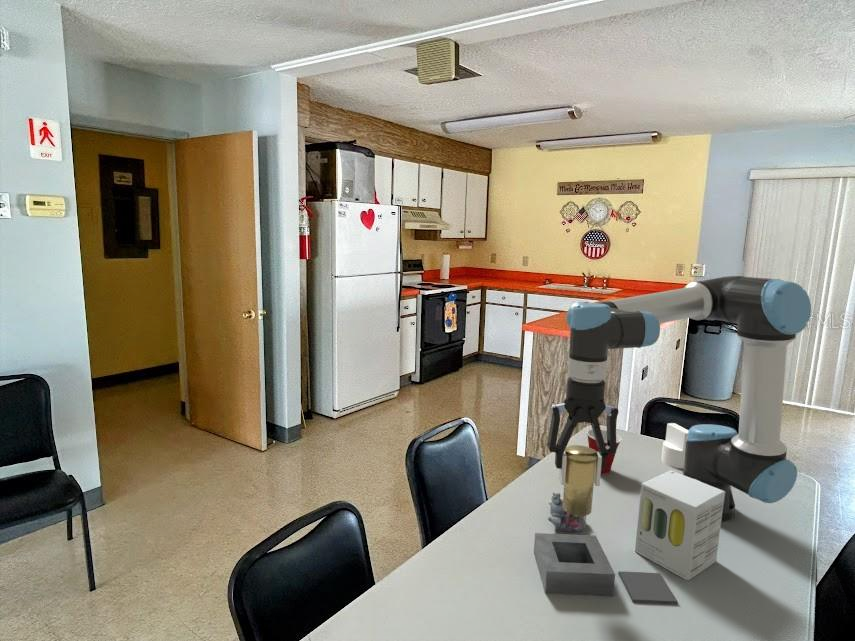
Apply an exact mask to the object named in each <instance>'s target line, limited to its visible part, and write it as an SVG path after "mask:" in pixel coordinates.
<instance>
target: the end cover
mask: <svg viewBox="0 0 855 641" xmlns="http://www.w3.org/2000/svg"><path fill="white" fill-rule="evenodd" d="M564 452H565V454H566V455H567V461H566V476H565V485H563V493H562V494H563V509H564V510H565V511H566V512H568V513H570V514H572V515H576V516H586V517H587V516H589V515H590V514H591V513H592V511H593V510H592V508H593V495H594V485H595V483H594V472H595V461H596V460H597V452H596V451H595V450H594V449H592V448H589V446H585V445H577V444H576V445H567V446H566V449H565V451H564Z"/></svg>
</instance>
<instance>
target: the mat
mask: <svg viewBox="0 0 855 641" xmlns="http://www.w3.org/2000/svg"><path fill="white" fill-rule="evenodd" d="M618 576H619V578H620V579H621V583H623V586H624V588H625V590H626V591H627V594H628V596H629V598H630V600H631V601H632V603H645V604H649V603H650V604H664V605H665V604H666V605H667V604H669V605H678V602H679V601H678V599H677V598H676V596H675V594H674V593H673V592H672V590H671V588H670V587H669V585H668V584H667V582H666V580H665V578H663V576H662V575H661V573H660V572H640V571H621V570H620V571H618Z"/></svg>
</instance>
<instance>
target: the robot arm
mask: <svg viewBox="0 0 855 641" xmlns="http://www.w3.org/2000/svg"><path fill="white" fill-rule="evenodd" d="M811 313H812V304H811V299H810V296H809V294H808V292H807V291H806V290H805V289H804V288H803V286H801V285H800V284H799V283H797V282H793V281H787V280H782V279H779V278H765V277H752V276H741V275H729V276H722V277H717V278H716V277H715V278H709V279H704V280H700V281H694V282H690V283H688V284H686V285H685V286H684V287H682V288H677V289H670V290H665V291H659V292H653V293H648V294H641V295H635V296H629V297H625V298H624V297H622V298H618V299H613V300H608V301H607V300H606V301H600V302H590V301H577V302H575V303H573V304H572V305H571V306H570V307H569V308H568V310H567V313H566V318H565V319H566V324H567V326H568V328H569V329H570V334H569V352H568V354H569V355H568V365H567V366H568V367H567V375H568V376H569V377H568V378H567V380H566V393H565V394H566V396H565V399H564V401H563V402H562V403H557V404H556V403H551V404H550V411H551V418H550V419H551V420H550V424H549V431H548V437H547V441H546V442H547V443H546V446H547V449H548V451H549V452H551V453H555V457H554V458H555V459H554V464H555V468H556V469H557V470H558V469H559V470H558V481H559V484H560V485H561V486H564V485H565V476H566V461H567V455H566V454H565V449H566V447H568V444H569V442H570V439H571V437H572V435H573V432H574V431H575V428H577V426H578V424H582V423H587V424H590V425H591V429H593V433H594V436H595V440H596V443H597V447H598V450H599V452H597V460H596V461H595V472H594V485H595V486H596V487H600V486H601V475H602V474H601V470H605V468H606V458H608V456H609V455H608V454H611V453H612V454H615V453H617V450H616V434H617V418H618V415H619V412H620V411H619V409H618V408H617V407H616V406H615V405H613V404H610V405H609V404H606V403H605V392H606V381H605V379H606V377H607V366H608V365H607V362H608V354H609V350H616V349H618V350H619V349H633V348H634V349H635V348H638V349H641V348H643V347H650V346H652V345H654V344H655V343H656V342H657V341H659V340H658V339H659V338H660V335H661V333H660V332H661V325H660V324H663V323H664V324H665V323H670V322H674V321H680V320H685V319H692V320H695V321H701V320H716V321H723V322H728V323H732V324H736V325H737V330H736V334H737V337H738V338H740V340H741V341H743V353H742V368H741V369H742V370H741V371H742V373H741V385H740V386H741V388H740V389H741V390H740V405H739V420H738V421H739V422H738V423H739V424H738V432H737V430H736V429H735V428H733V427H730V426H725V425H719V424H710V423H708V424H707V423H706V424H705V423H704V424H695V425H692V426H690V428H689V429H688V430H689V431H688V436H687V439H686V451H685V461H684V468H683V471H682V475H685V476H687V477H690V478H692V479H696V480H698V481H700V482H702V483H705V484H707V485H710V486H712V487H715V488H718V489H720V490H723V491H725V497H724V504H723V511H722V519H721V522H723V521H728V520H732V519H733V517H735V514H736V504H735V499H734V495H733V491H732V488H734V489H737V490H739V491H741V492H742V493H744V494H746V495H748V496H749V497H750V498H752V499H756V500H758V501H760V502H763V503H765V504H774V503H776V502H777V503H778V502H780V501H781V500H783V499H784V498H786V496H788V495H789V493H790V492H791V491H792V490H793V487H794V485H795V484H796V481H797V477H798V468H797V466H796V464H795V463H794V462H792V461H791V460H790V459H787V452H788V451H787V450H788V448H787V445H786V444H784V442H783V441H782V440H781V431H782V430H781V429H782V417H783V416H782V415H783V404H784V389H785V376H786V364H787V362H786V361H787V348H788V345H789V344H790V343H792V342H793V341H795V340H796V339H797V338H796V337H797V334H798V333H801V332H802V331H804V330H805V328H807V326H808V324H807V323H808V322H810V319H811V315H812V314H811ZM564 410H565V411H566V412H567V413H568V415H567V418H566V423H565V425H564V426H563V429H562V432H561V433H560V436H559V438H558V433H559V428H560V422H561V415H563V412H564ZM603 413H604V414H605V415H606V417H605V418H606V419H605V420H606V431H607V446H605V443H604V440H603V436H602V433H601V430H602V429H601V424H600V422H599V417H600V416H601V415H602V414H603ZM557 439H558V440H557ZM615 455H616V454H615Z"/></svg>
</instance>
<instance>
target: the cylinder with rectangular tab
mask: <svg viewBox="0 0 855 641" xmlns="http://www.w3.org/2000/svg"><path fill="white" fill-rule="evenodd" d="M688 431H689V429H686V428H685V427H683V426H681V425H679V424H677V423H676V422H675V423H674V422H670V423H669V422H668V423H667V425H666V432H665V441H663V442H662V450H661V462H662V463H663V464H665V465H666V466H668V467H671V468H676V469H683V470H684V461H685V451H686V439H687V436H688Z"/></svg>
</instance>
